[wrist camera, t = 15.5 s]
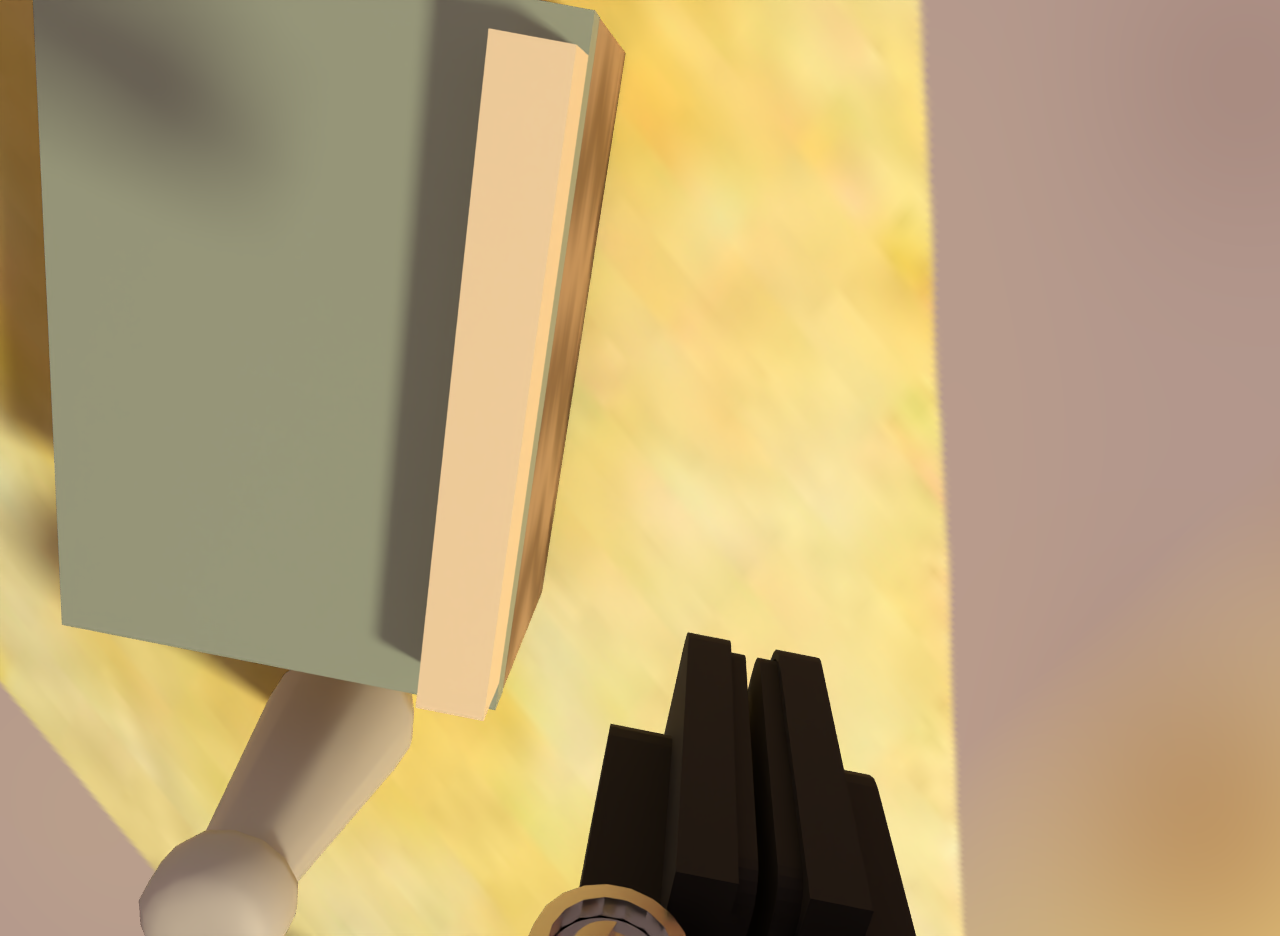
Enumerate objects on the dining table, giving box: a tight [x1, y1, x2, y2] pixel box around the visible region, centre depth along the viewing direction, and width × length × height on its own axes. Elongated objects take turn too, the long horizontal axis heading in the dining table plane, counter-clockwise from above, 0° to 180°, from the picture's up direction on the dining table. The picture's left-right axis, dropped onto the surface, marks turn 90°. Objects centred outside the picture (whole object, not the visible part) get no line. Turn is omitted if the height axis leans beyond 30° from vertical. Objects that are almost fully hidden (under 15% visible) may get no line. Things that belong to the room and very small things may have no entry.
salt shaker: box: [139, 670, 414, 936], centre depth 32 cm, size 6×6×13 cm
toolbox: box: [503, 19, 625, 688], centre depth 29 cm, size 20×14×7 cm
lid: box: [33, 0, 600, 721], centre depth 24 cm, size 20×14×3 cm
